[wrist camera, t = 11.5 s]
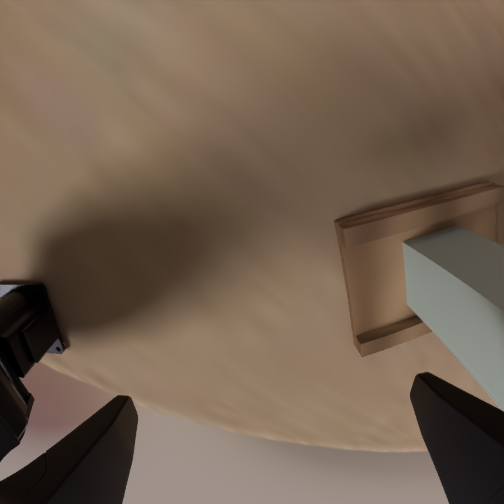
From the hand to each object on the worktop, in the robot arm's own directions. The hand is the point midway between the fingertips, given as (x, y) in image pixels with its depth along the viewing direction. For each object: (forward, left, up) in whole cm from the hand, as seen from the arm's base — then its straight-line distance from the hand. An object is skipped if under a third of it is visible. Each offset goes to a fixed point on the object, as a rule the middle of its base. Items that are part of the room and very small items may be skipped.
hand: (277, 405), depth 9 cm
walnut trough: (+13, -1, -13) cm, 18 cm away
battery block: (+13, -1, -12) cm, 18 cm away
